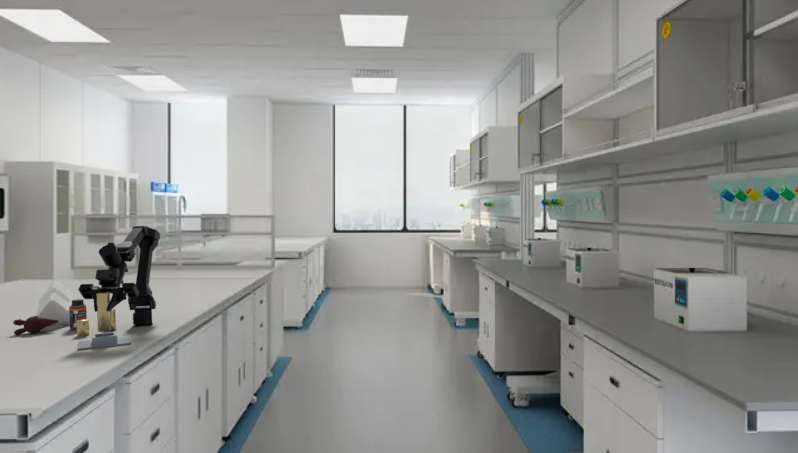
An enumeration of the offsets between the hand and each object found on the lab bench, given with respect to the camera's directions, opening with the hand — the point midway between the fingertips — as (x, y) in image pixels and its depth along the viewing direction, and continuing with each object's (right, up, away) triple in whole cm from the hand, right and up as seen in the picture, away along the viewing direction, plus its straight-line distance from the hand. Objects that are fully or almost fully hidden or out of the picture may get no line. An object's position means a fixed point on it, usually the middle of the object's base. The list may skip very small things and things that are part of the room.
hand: (101, 310), depth 198 cm
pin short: (-16, -11, +17) cm, 26 cm away
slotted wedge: (-39, -12, +41) cm, 58 cm away
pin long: (0, -7, +2) cm, 7 cm away
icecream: (-37, -12, +23) cm, 45 cm away
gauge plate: (0, -12, +2) cm, 12 cm away
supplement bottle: (-24, -11, +30) cm, 40 cm away
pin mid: (-9, -11, +25) cm, 29 cm away
